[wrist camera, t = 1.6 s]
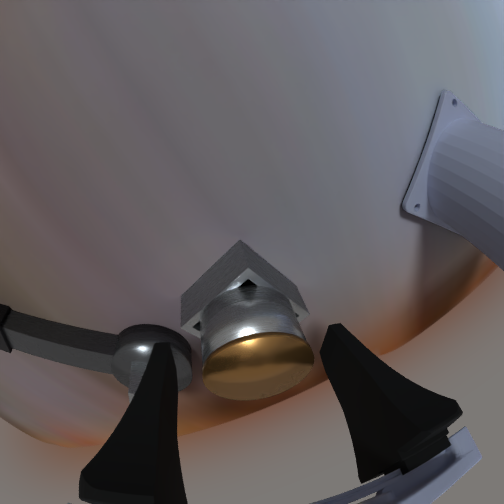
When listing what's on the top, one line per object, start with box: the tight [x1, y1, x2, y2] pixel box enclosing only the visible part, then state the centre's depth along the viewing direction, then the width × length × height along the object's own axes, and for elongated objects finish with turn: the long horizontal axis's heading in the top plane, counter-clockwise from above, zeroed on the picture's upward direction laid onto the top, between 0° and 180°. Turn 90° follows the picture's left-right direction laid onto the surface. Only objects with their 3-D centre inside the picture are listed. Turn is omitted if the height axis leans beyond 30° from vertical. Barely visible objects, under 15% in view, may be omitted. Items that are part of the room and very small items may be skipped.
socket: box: [181, 240, 314, 400], centre depth 13 cm, size 5×5×6 cm
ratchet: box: [0, 304, 192, 403], centre depth 12 cm, size 22×5×4 cm, turn 74°
